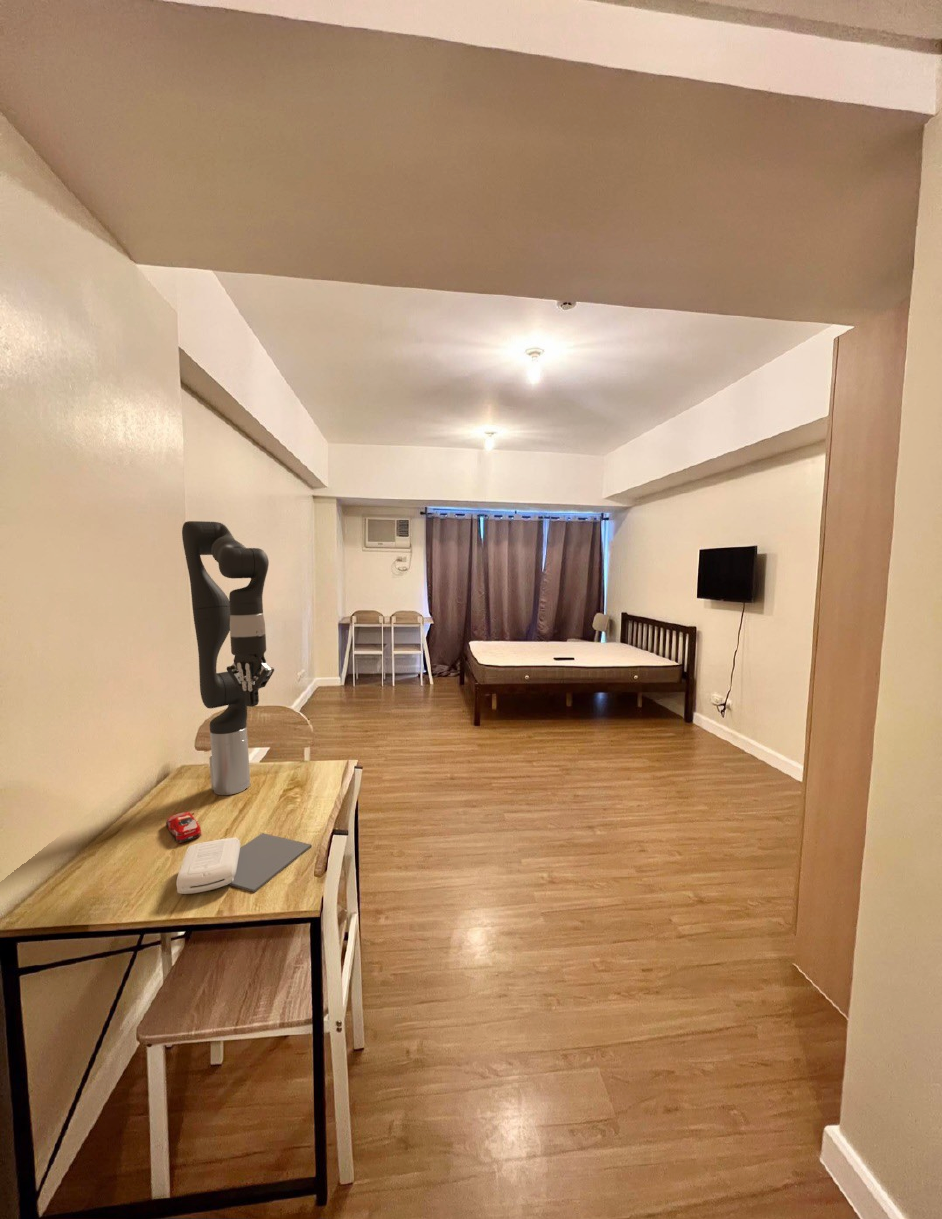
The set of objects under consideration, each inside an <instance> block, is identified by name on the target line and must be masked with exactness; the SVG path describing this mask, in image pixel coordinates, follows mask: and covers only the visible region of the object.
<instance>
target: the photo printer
mask: <svg viewBox="0 0 942 1219" xmlns="http://www.w3.org/2000/svg"><path fill="white" fill-rule="evenodd" d="M241 847H242V845H241V841H240V840H239V839H238V837H226V838H220V839H216V840H215V839H214V840H209V841H203V842H199V843H195V844H191V845H189V846H188V847H187V850H186V852H185V854H184V858H183V860H182V862H181V866H180V868H179V871H178V873H177V874H178V875H177V877H176V883H175V884H176V888H177V889H176V891H177V892H176V893H177V894H183V895H184V894H185V895H187V894H188V895H189V894H197V893H202V892H203V893H204V892H208V891H211V890H215V889H219V888H221V887H222V888H223V887H225V886H228V884H229V883H231V882H233V880H234V876H235V874H236V869H237V864H238V858H239V852H240V848H241Z"/></svg>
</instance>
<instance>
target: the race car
mask: <svg viewBox="0 0 942 1219" xmlns="http://www.w3.org/2000/svg"><path fill="white" fill-rule="evenodd" d="M193 815H194V816H195V812H192V813H191V812H188V811H187V812H179V813H176V814H173V815H171V816H169V817H167V819H166V820H165V824H166V828H167V830H168V831H169V833H170V835H171V836H172V837H173V839H174V841H175V843H177V844H180V843H186V842H188V841H191V840H194V839H197V838H199V837H200V836H202V829H201V825H200V824H199V823H198V821H197V820H196V819H195V817H194V816H193Z"/></svg>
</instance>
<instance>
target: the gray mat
mask: <svg viewBox="0 0 942 1219" xmlns="http://www.w3.org/2000/svg"><path fill="white" fill-rule="evenodd" d="M311 848H312V843H306V842H302V841H297V840H294V839H289V838H285V837H281V836H276V835H273V834H268V833H264V832H261V834H259V835H257V836H256V837H254V838H252V840H250V841H249V842H247V843H245V844H244V845H241V846H240V852H239V858H238V864H237V869H236V874H235V876H234V880H233V882H231V883H229V884H227V886H232V887H235V888H238V889H242V890H244V891H248V892H252V893H256V892H257V891H259V890H260V889H261V888H262V887H264V886H265V885H266V884H267V883H269V881H271V880H272V879H274V877H276V876H277V875H278V874H279V873H281V872H282V871H283V870H285V869H286V868H287V867H288V866H289V865H291V864H292V863H293V862H294V861H296V860H297V859H299V857H301V856H302V855H303V854H304V853H306V852H307V851H308V850H309V849H311Z"/></svg>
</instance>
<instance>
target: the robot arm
mask: <svg viewBox="0 0 942 1219" xmlns="http://www.w3.org/2000/svg"><path fill="white" fill-rule="evenodd" d="M181 537H182V544H183V550H184V555H185V560H186V565H187V571H188V577H189V583H190V585H189V586H190V594H191V596H190V597H191V605H192V614H193V616H192V617H193V623H194V629H195V634H196V635H195V636H196V642H197V643H196V644H197V651H198V670H199V671H198V673H199V675H198V676H199V691H200V692H199V693H200V697H201V701H202V703H203V705H204V707H205V708H207V709H217V708H220V707H226V706H227V707H226V709H224V711H223V712H222V713H220V714H218V715H217V716H216V717H214V718H212V719H211V720H210V722H209V739H210V750H211V753H210V754H211V756H210V757H209V770H210V771H209V774H210V786H211V787H210V789H211V791H213V792H214V794H216V795H218V796H228V795H229V796H231V795H234V794H239V793H241V792H244V791H246V790H247V789H249V788H250V786H251V772H250V756H249V744H248V743H249V740H248V739H249V738H248V728H247V727H248V725H247V724H248V722H247V721H248V707H249V708H250V707H252V708H253V707H256V706H257V705H258V704H259V701H260V699H259V698H260V697H259V690H260V689H263V688H265V687H266V686H267V683H268V682H269V680H270V679H271V678H272V676H273V674H274V672H275V667H271V666H268V665H267V659H266V657H265V653H266V652H267V636H266V622H265V617H264V606H263V605H264V604H263V601H264V600H263V594H264V588H265V582H266V577H267V574H268V571H269V565H270V564H269V562H270V561H269V557H268V555H267V553H266V552H265V551H264V549H261V548H260V547H259V548H258V547H246V546H245V545H243V544H242V543H241V542H239V541H238V540H236V539H235V537H234V536H233V534H232V533H231V531H230V530H229V528H228V527H227V526H226V525H225V524H224V523H222V522H219V521H205V520H204V521H202V520H201V521H197V520H192V521H191V520H190V521H189V520H188V521H185V522H184V523H183V525H182V528H181ZM201 556H212V557H213V560H215V562H217V563H218V569H219V572H220V574H221V575H222V576H223V577H224V578H227V579H250V580H249V583H248V585H246V586H244V587H241V588H236V589H233V590H231V591H230V592H229V596H227V595H226V593H225V592H224V590H222V588H221V587H220V586H219V585H218V583H216V581H214V579H213V578H212V577H211V575H210V574H209V572H208V571H207V569H206V568H205V565H204V564H203V560H202V557H201ZM229 633H230V634H229ZM228 635H229V636H230V650H231V655H233V656H234V658H233V663H232V664H231V665H229V666H226V671H224V672H223V671H221V672H218V673H217V663H218V656H219V653H220V652H221V648H222V646H223V645H224V643H225V641H226V639H227V637H228ZM246 788H247V789H246ZM245 789H246V790H245Z"/></svg>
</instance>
